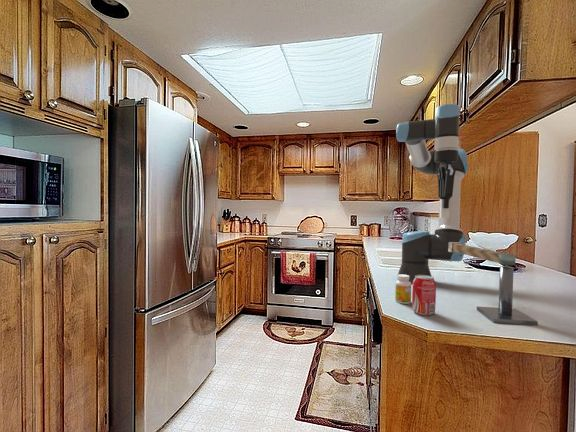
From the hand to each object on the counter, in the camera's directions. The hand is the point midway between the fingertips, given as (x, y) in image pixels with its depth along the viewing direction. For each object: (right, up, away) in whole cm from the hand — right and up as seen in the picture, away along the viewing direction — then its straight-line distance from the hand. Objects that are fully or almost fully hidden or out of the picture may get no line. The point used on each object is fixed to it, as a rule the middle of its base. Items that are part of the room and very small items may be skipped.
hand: (444, 217), depth 114 cm
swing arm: (+13, -15, +1) cm, 19 cm away
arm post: (+13, -32, -12) cm, 36 cm away
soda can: (-11, -32, -9) cm, 34 cm away
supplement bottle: (-14, -31, +3) cm, 34 cm away
